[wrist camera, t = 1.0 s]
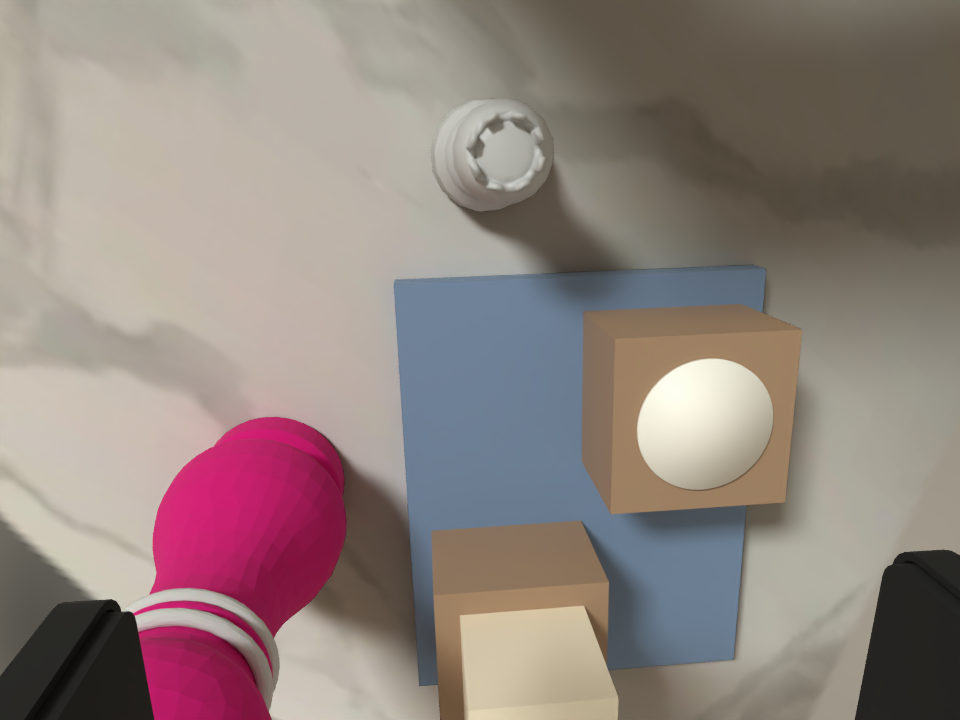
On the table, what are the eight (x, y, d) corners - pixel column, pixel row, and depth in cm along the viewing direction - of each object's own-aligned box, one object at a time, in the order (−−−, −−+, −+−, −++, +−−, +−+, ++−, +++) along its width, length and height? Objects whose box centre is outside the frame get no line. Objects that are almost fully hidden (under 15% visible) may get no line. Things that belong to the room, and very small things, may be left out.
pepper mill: (366, 538, 33) (290, 1055, 14) (213, 558, 33) (-85, 1120, 13) (342, 395, 31) (215, 769, 12) (179, 415, 31) (-228, 834, 11)
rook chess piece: (556, 135, 29) (606, 123, 21) (503, 230, 30) (533, 252, 22) (462, 77, 28) (479, 43, 20) (411, 177, 29) (407, 181, 21)
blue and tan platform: (394, 280, 30) (380, 343, 19) (753, 264, 31) (931, 316, 20) (419, 669, 35) (419, 890, 24) (723, 644, 36) (851, 844, 26)
